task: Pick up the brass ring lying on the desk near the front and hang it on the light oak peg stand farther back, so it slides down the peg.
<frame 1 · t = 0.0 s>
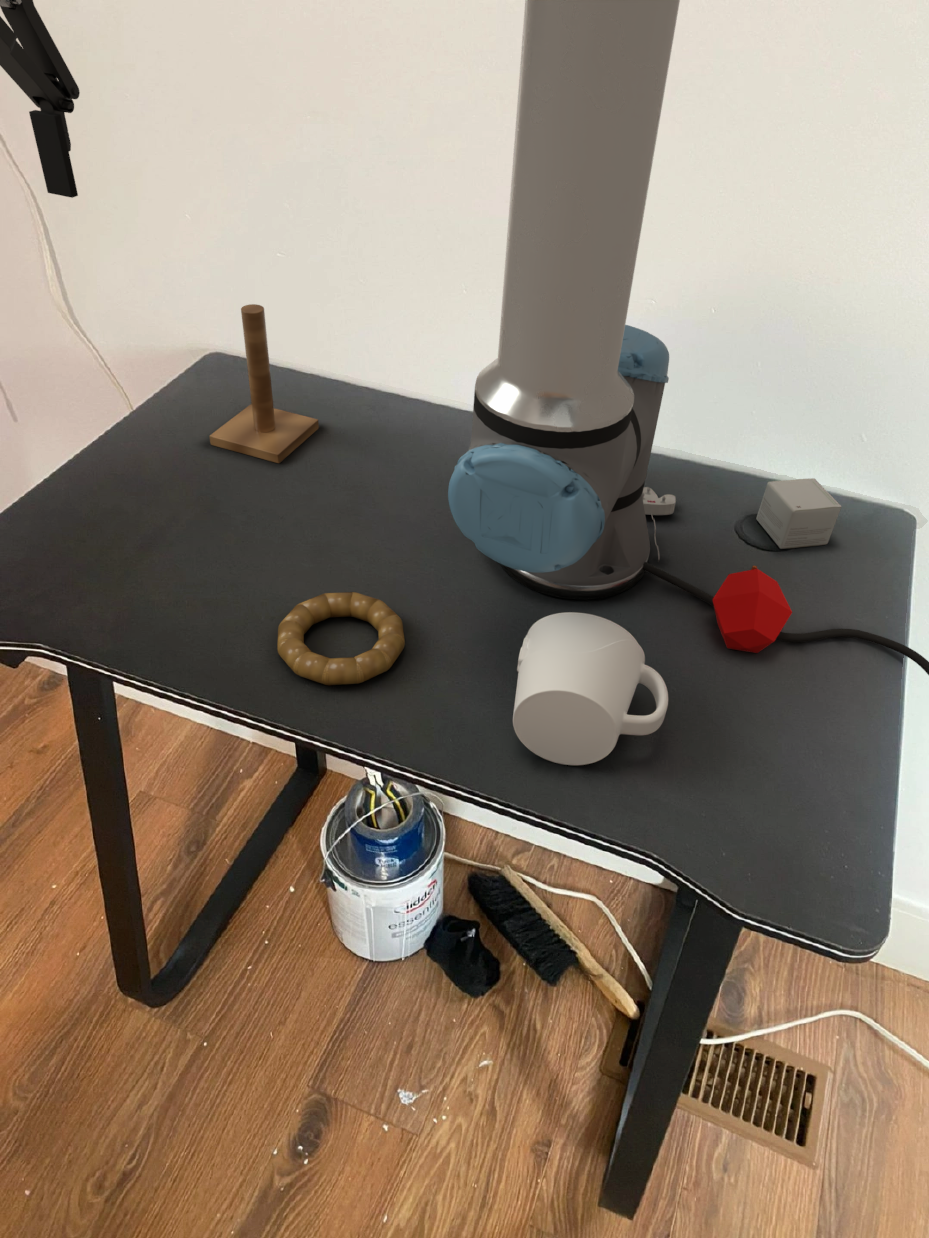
hand: (6, 215, 77), 28 cm above the table, tool pointing down, fingers open, 13 cm apart
peg stand: (265, 436, 107), on the table
game controller: (647, 529, 96), on the table
coffee box: (565, 476, 104), on the table
apple: (741, 636, 84), on the table
small box: (790, 533, 97), on the table
ring: (341, 636, 79), point 1 cm above the table
mug: (582, 726, 74), on the table
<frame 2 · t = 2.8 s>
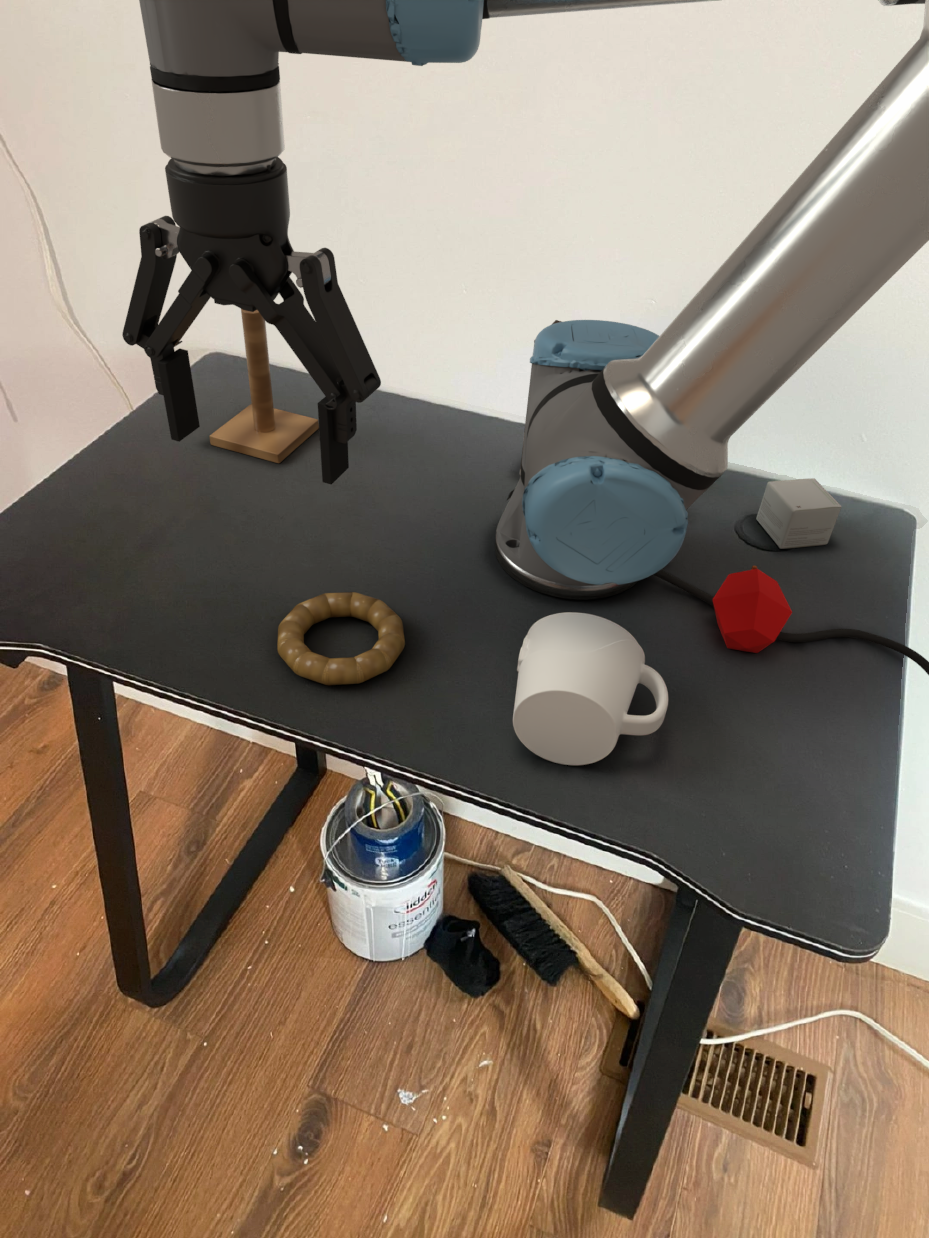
hand: (258, 454, 72), 17 cm above the table, tool pointing down, fingers open, 13 cm apart
nothing on the table moved.
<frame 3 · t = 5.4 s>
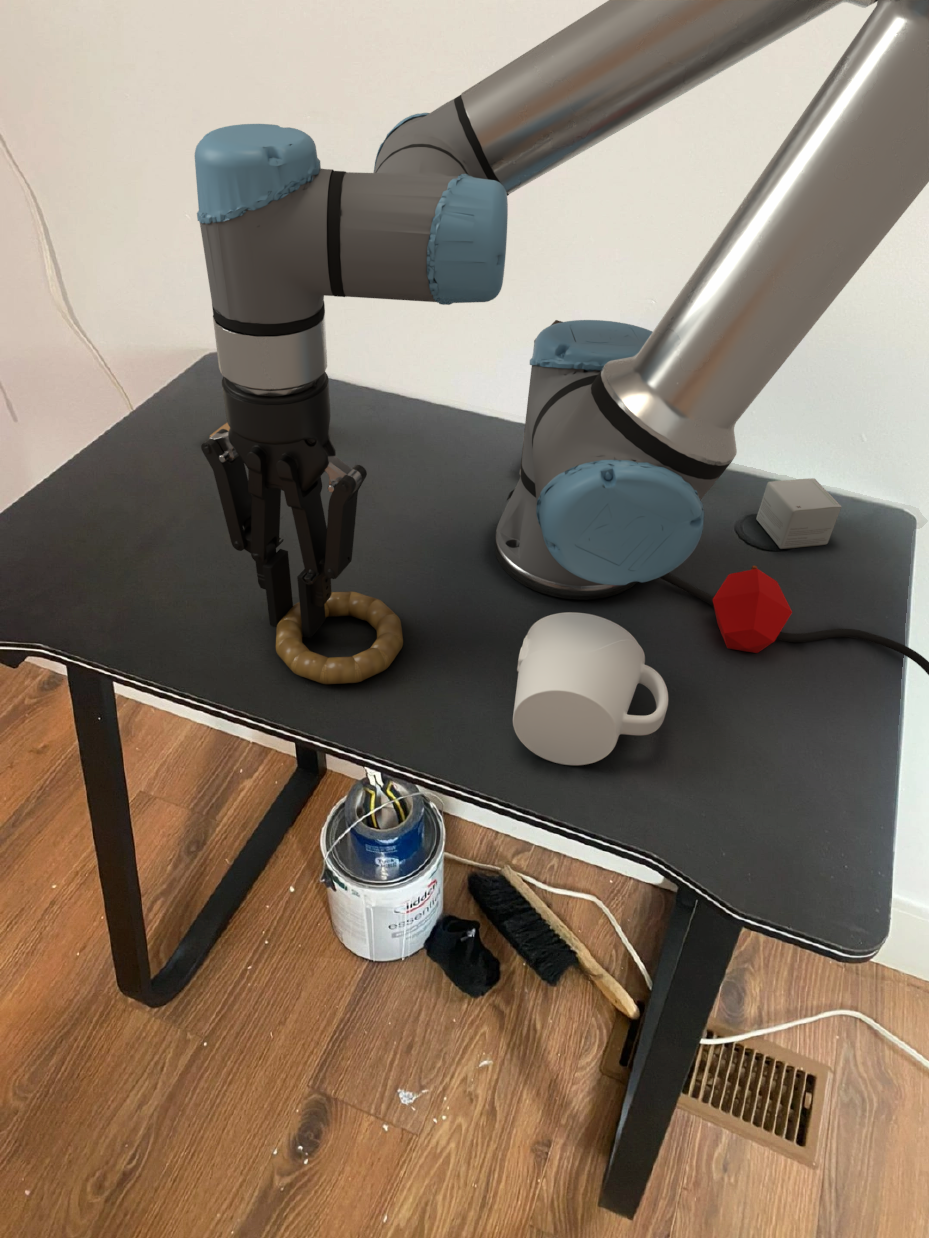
hand: (297, 622, 80), 1 cm above the table, tool pointing down, fingers closed on ring, 2 cm apart
ring: (339, 635, 79), point 1 cm above the table, touching gripper
everything else where it was.
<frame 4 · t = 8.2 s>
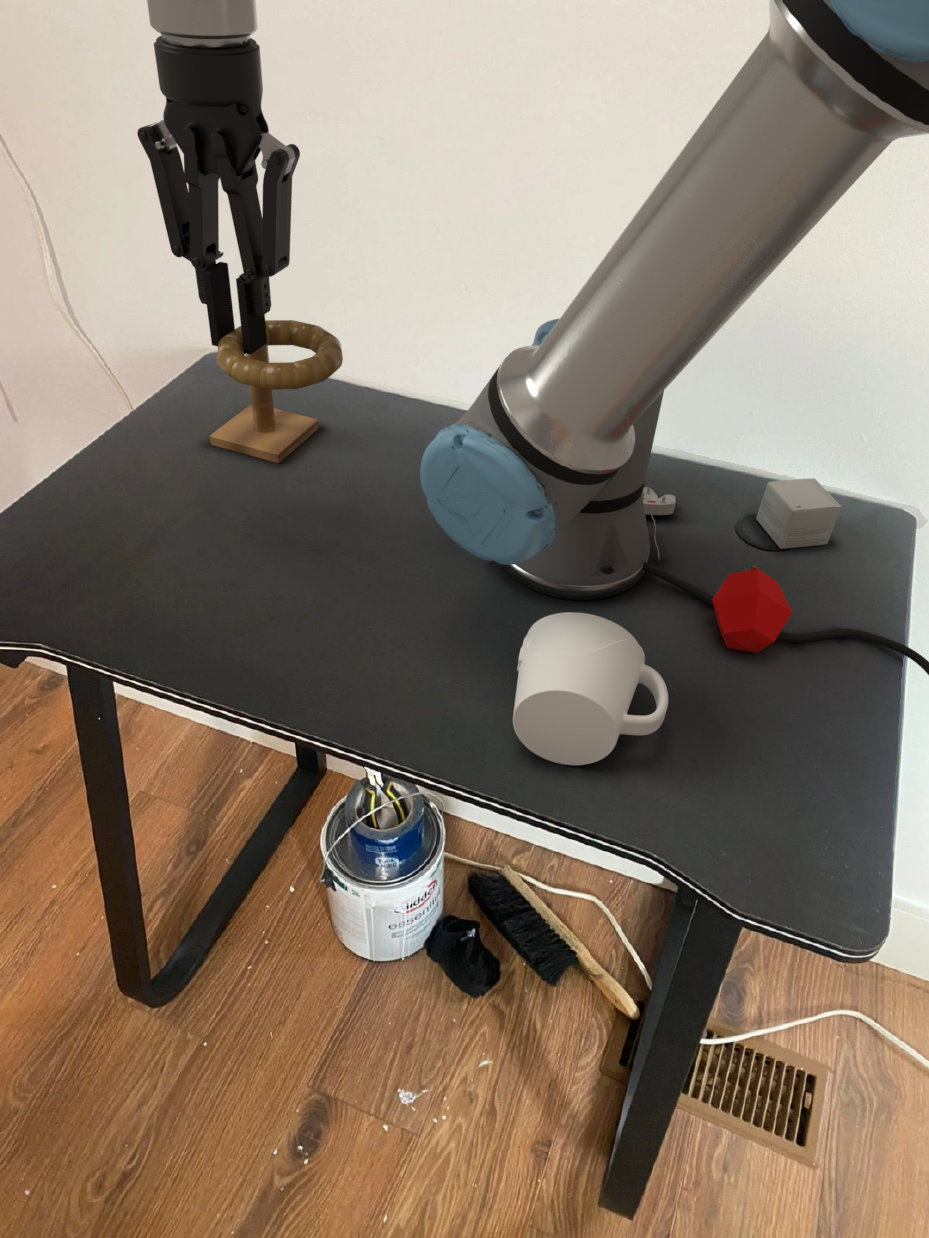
hand: (239, 343, 82), 19 cm above the table, tool pointing down, fingers closed on ring, 2 cm apart
ring: (280, 353, 81), point 19 cm above the table, touching gripper
everything else where it was.
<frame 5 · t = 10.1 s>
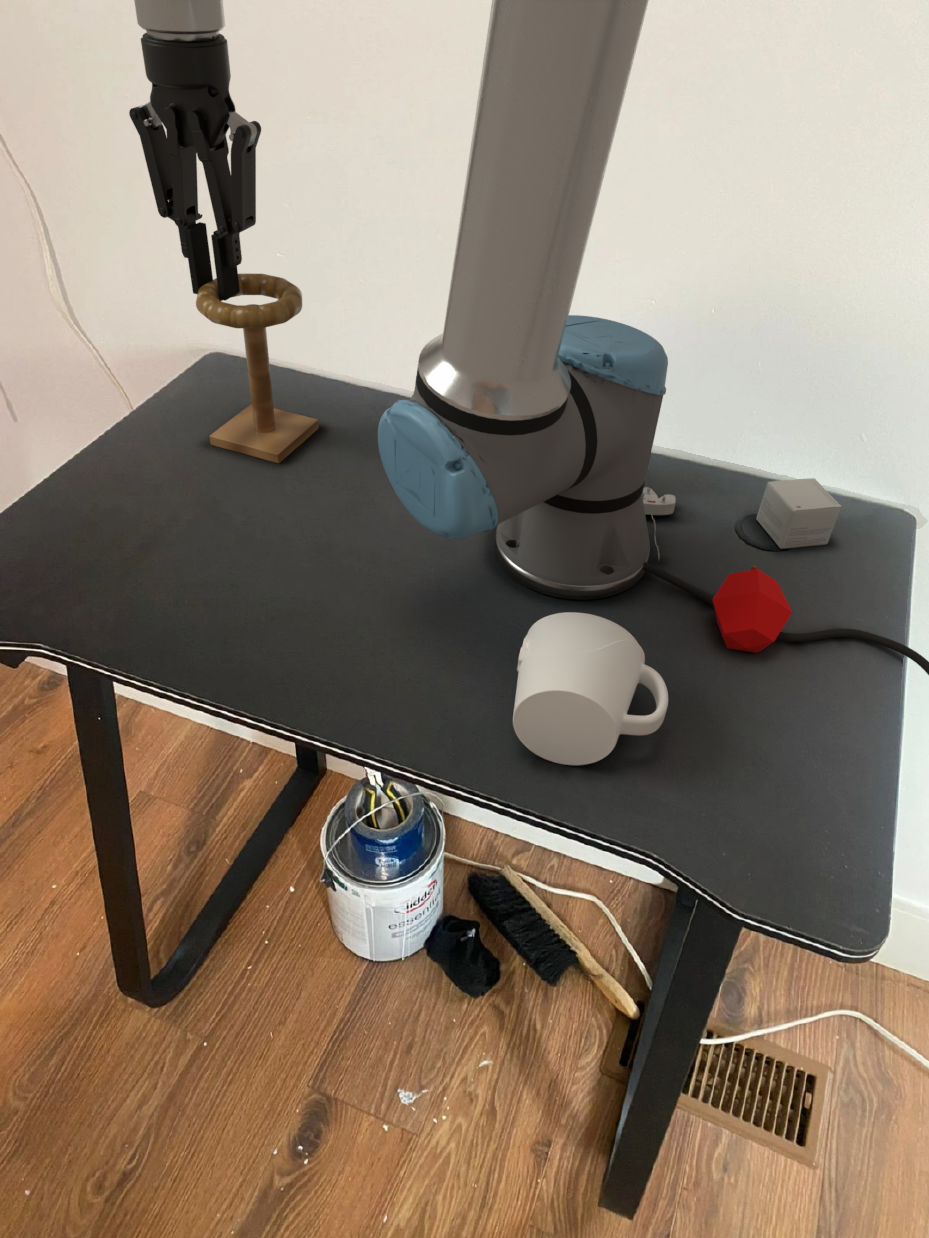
hand: (216, 292, 97), 16 cm above the table, tool pointing down, fingers closed on ring, 2 cm apart
ring: (249, 300, 96), point 16 cm above the table, touching gripper
everything else where it was.
when the fingers open (12 cm above the table, at t = 11.5 s): ring drops 10 cm, resting on peg stand.
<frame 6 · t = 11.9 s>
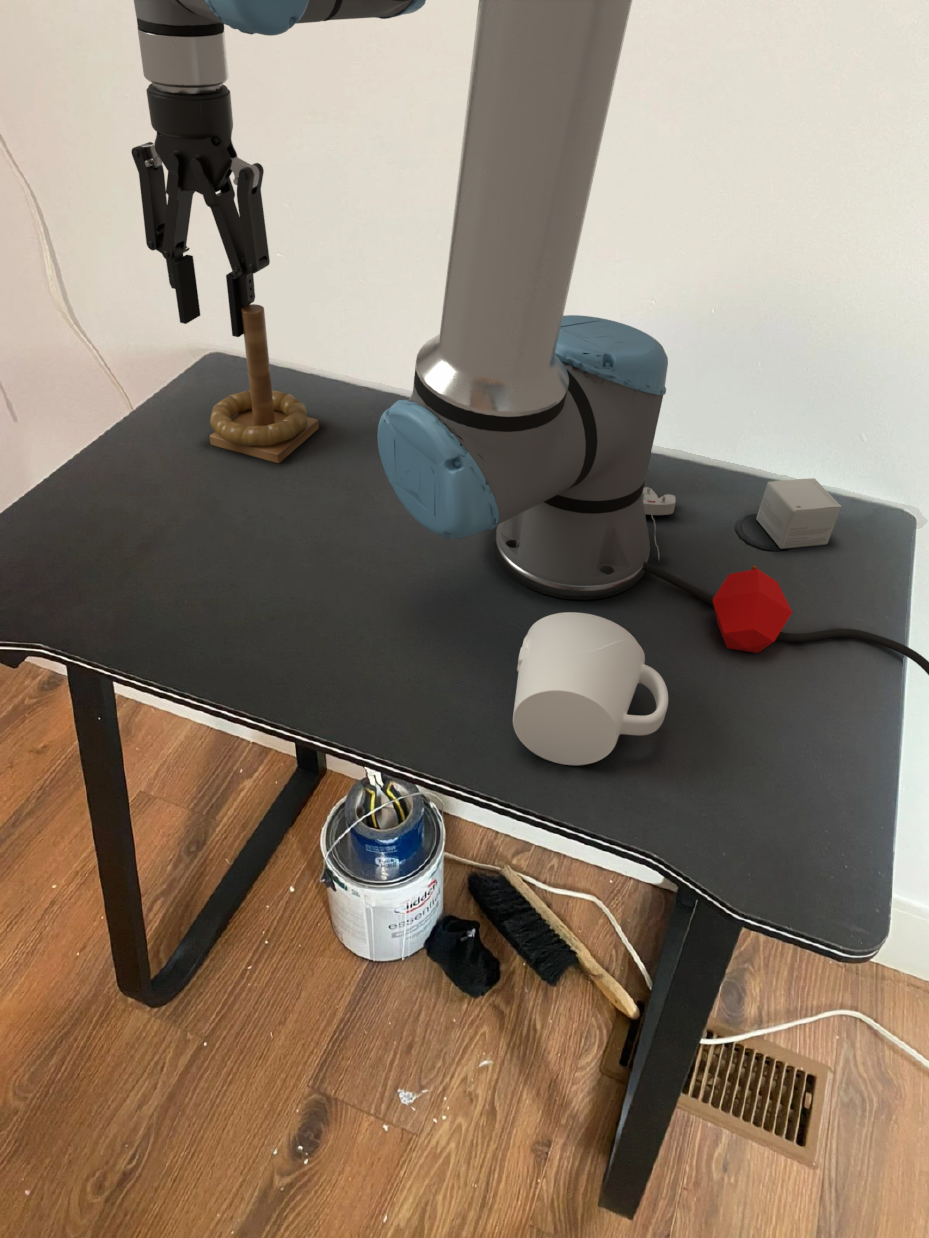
hand: (216, 325, 100), 12 cm above the table, tool pointing down, fingers open, 6 cm apart
ring: (259, 417, 105), point 2 cm above the table, touching peg stand
everything else where it was.
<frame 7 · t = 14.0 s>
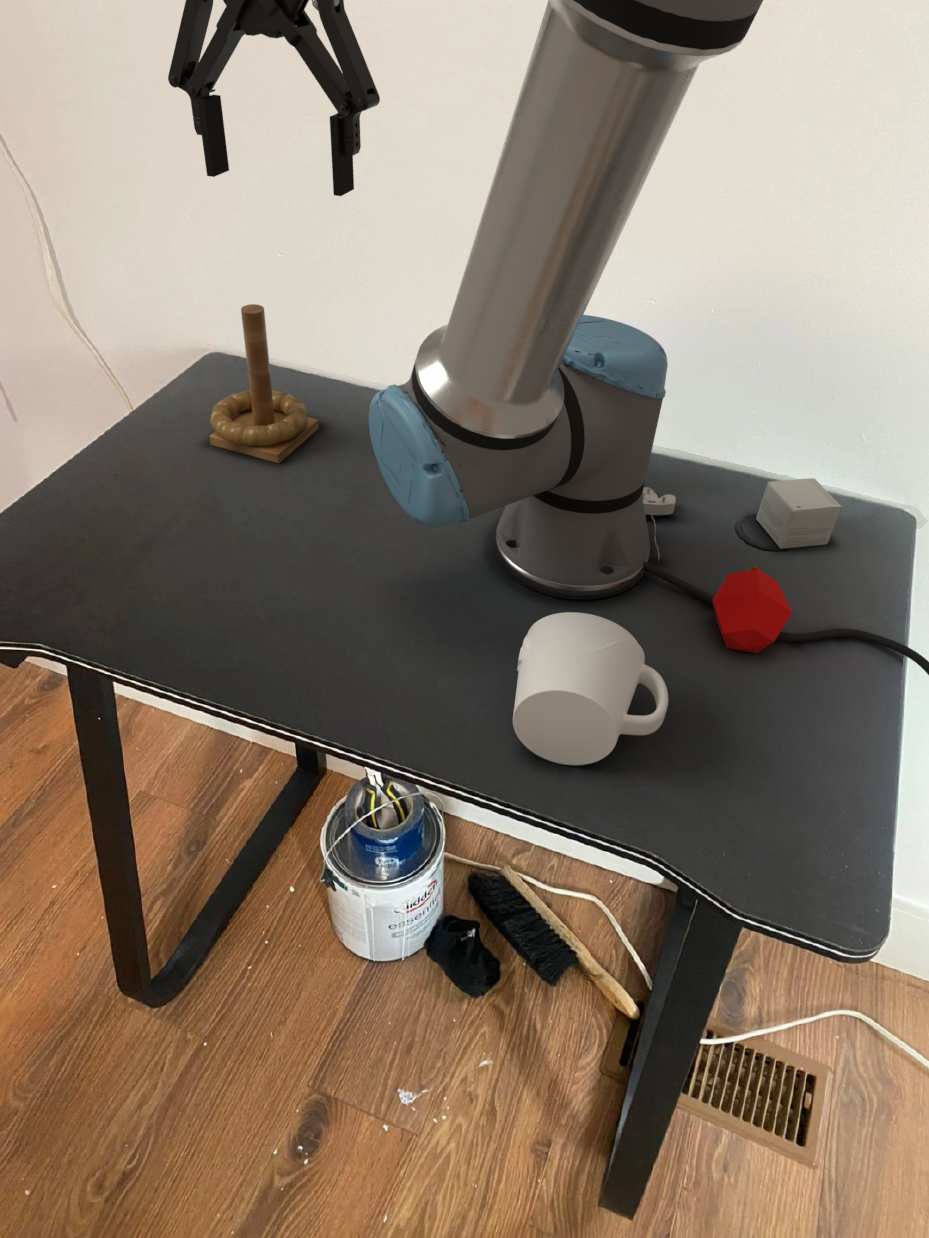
hand: (279, 183, 88), 28 cm above the table, tool pointing down, fingers open, 13 cm apart
nothing on the table moved.
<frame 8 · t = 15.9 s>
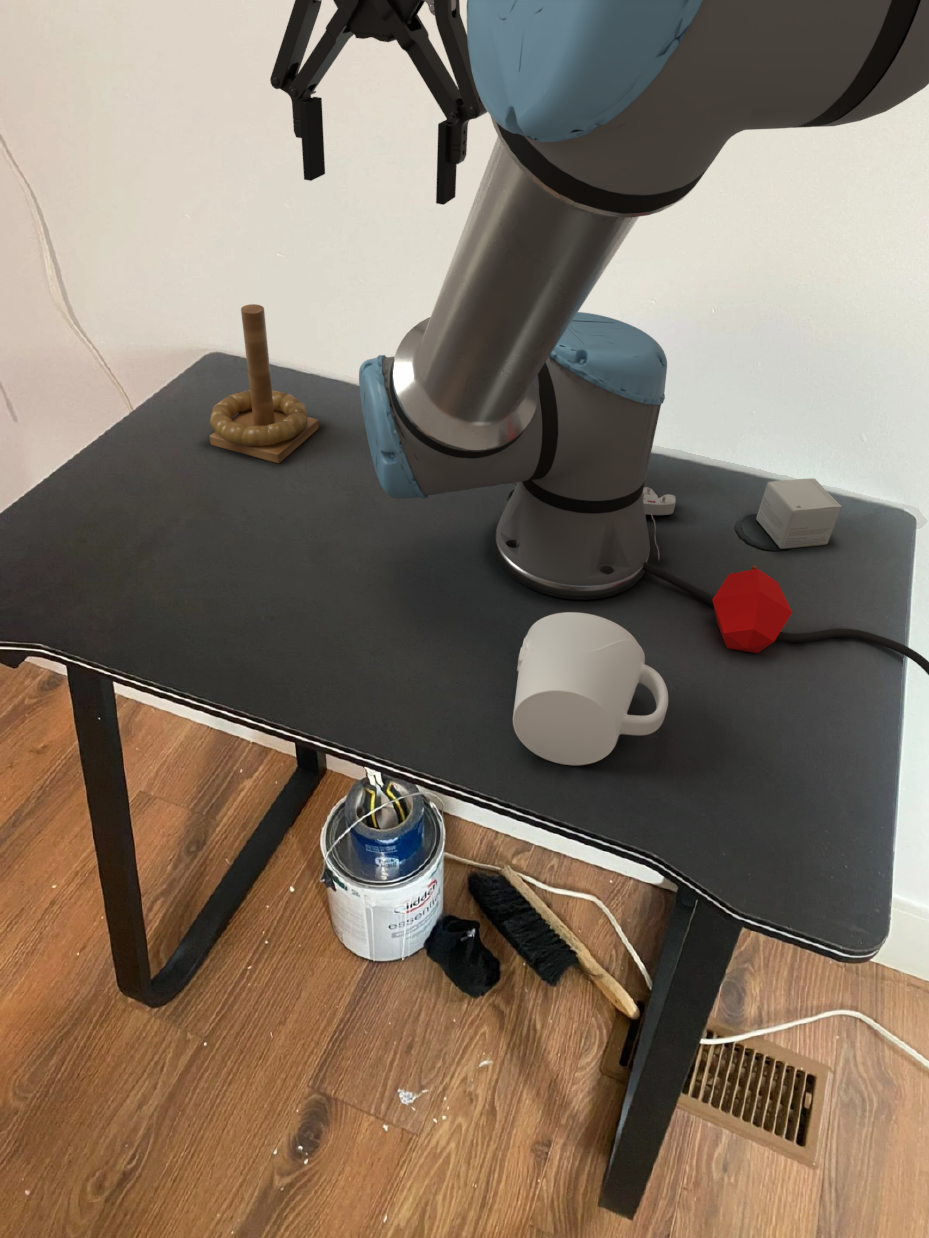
hand: (378, 189, 86), 29 cm above the table, tool pointing down, fingers open, 13 cm apart
nothing on the table moved.
at the end: ring 0.7 cm from the peg stand (horizontally); ring point 2.3 cm above the table; the gripper is holding nothing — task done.
